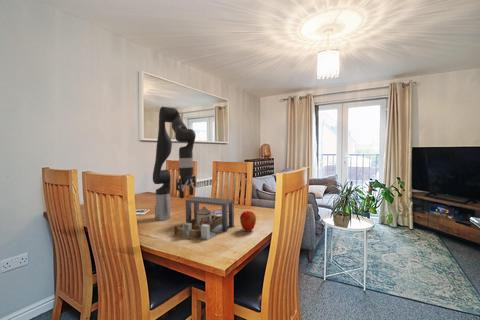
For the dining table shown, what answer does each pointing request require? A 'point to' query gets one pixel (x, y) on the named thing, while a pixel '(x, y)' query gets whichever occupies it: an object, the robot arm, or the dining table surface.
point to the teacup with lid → (204, 217)
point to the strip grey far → (217, 229)
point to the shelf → (213, 202)
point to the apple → (248, 220)
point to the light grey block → (206, 232)
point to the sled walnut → (187, 230)
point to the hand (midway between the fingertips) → (186, 196)
